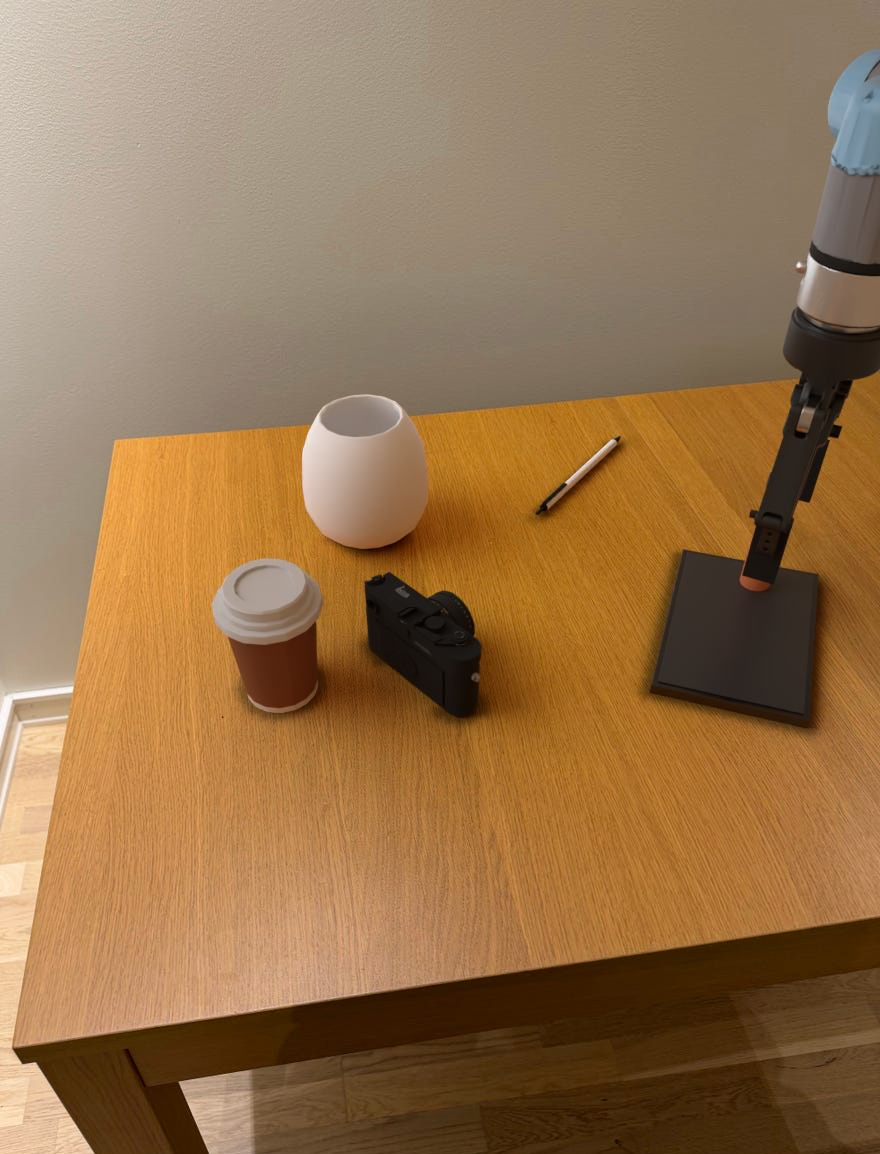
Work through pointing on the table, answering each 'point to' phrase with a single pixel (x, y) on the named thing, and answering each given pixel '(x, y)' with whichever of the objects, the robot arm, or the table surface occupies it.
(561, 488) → the pen
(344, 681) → the table surface
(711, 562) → the plate
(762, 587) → the orange cylinder
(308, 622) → the coffee cup
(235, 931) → the table surface
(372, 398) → the white vase
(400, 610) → the camera
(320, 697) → the table surface
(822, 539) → the table surface
